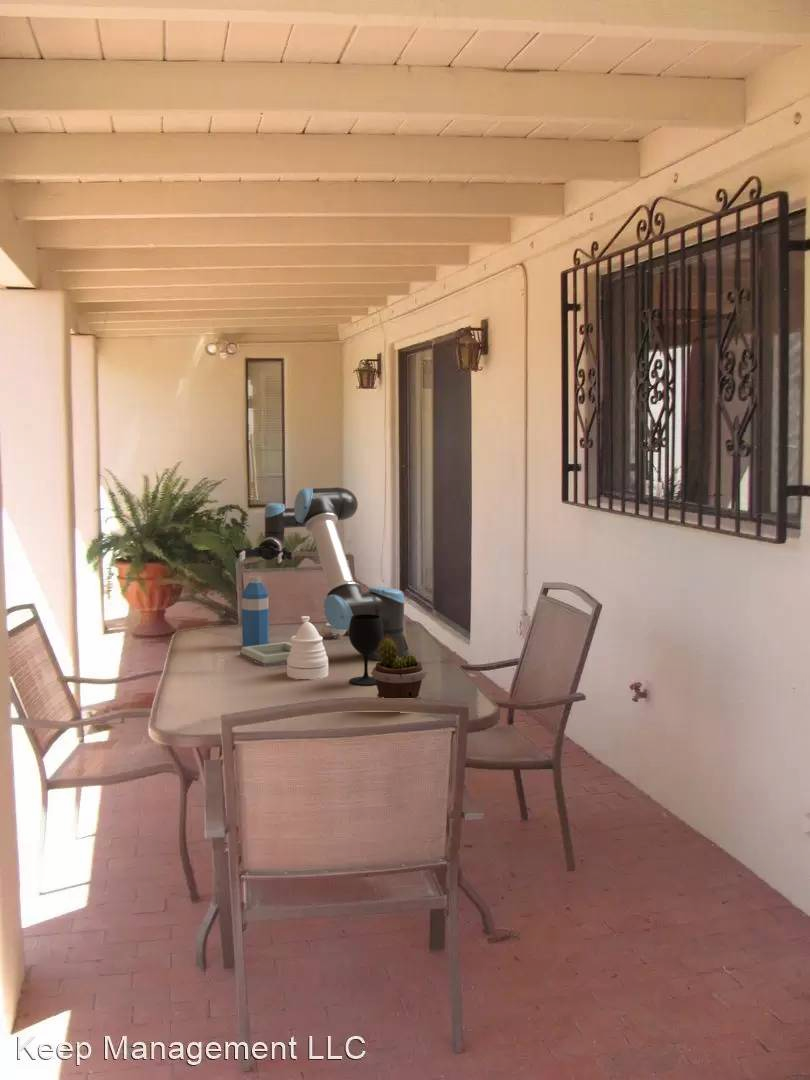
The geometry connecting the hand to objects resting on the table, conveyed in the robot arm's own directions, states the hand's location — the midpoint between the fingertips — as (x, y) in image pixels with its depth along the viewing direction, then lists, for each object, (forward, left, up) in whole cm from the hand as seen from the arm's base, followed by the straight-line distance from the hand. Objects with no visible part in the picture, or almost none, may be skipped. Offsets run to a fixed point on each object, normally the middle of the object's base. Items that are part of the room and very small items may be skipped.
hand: (259, 558), depth 367 cm
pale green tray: (-24, +5, -30) cm, 39 cm away
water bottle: (-6, +4, -31) cm, 32 cm away
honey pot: (-51, +7, -31) cm, 60 cm away
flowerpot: (-96, +2, -31) cm, 100 cm away
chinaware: (-6, -37, -31) cm, 49 cm away
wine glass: (-68, -4, -31) cm, 74 cm away
